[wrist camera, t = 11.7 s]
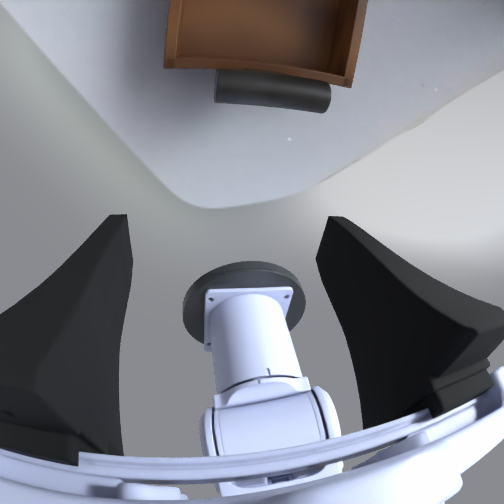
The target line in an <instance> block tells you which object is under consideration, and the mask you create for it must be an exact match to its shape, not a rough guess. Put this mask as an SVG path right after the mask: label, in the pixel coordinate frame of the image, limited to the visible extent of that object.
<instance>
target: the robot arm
mask: <svg viewBox="0 0 504 504" xmlns="http://www.w3.org/2000/svg"><path fill="white" fill-rule="evenodd" d="M316 262H317V266H318V270H319V273H320V276H321V280H322V282H323V285H324V287H325V289H326V292H327V294H328V297H329V299H330V301H331V303H332V305H333V308H334V310H335V312H336V315H337V317H338V319H339V322H340V324H341V326H342V329H343V332H344V334H345V337H346V340H347V344H348V348H349V351H350V355H351V359H352V363H353V367H354V371H355V376H356V380H357V386H358V392H359V397H360V404H361V413H362V422H363V430H362V431H358V432H355V433H351V434H347V435H344V436H341V431H340V425H339V421H338V417H337V414H336V410H335V407H334V405H333V402H332V400H331V398H330V397H329V395H328V393H327V392H326V391H324V390H322V389H321V388H320V387H318V386H315V387H312V388H310V385H309V381H308V378H307V377H302V374H301V371H300V367H299V364H298V360H297V357H296V354H295V350H294V347H293V344H292V341H291V337H290V334H289V330H288V327H287V324H286V320H285V317H286V314H287V311H288V308H289V304H290V301H291V298H292V295H293V289H292V287H265V288H234V289H208V290H207V291H206V292H205V312H204V350H205V351H207V352H212V356H213V365H214V374H215V381H216V390H217V394H216V395H213V404H214V407H208V408H206V409H205V412H204V413H203V415H202V416H201V418H200V439H201V446H202V451H203V455H204V457H187V458H150V457H128V456H124V453H123V446H122V437H121V426H120V412H119V411H120V410H119V352H120V342H121V335H122V329H123V323H124V318H125V313H126V308H127V302H128V297H129V292H130V287H131V279H132V268H133V257H132V250H131V244H130V236H129V228H128V220H127V214H125V215H124V214H121V215H109V216H108V217H107V218H106V219H105V221H104V222H103V223H102V224H101V225H100V226H99V227H98V228H97V229H96V230H95V231H94V232H93V233H92V234H91V235H90V237H89V238H88V239H87V240H86V241H85V242H84V243H83V244H82V245H81V246H80V247H79V248H78V249H77V250H76V251H75V252H74V253H73V254H72V255H71V256H70V257H69V258H68V259H67V260H66V261H65V263H63V265H62V266H60V267H59V268H58V269H57V270H56V271H55V272H54V273H53V274H52V275H51V276H49V277H48V278H47V279H46V280H45V281H44V282H43V283H42V284H40V285H39V286H38V287H37V288H35V289H34V290H33V291H31V292H30V293H29V294H27V295H26V296H25V297H24V298H22V299H21V300H20V301H19V302H17V303H16V304H15V305H13V306H12V307H10V308H9V309H7V310H6V311H5V312H3V313H1V314H0V504H445V502H444V501H446V500H448V499H449V498H450V497H452V496H453V495H454V494H456V493H457V492H459V490H460V489H461V486H462V483H463V482H462V479H461V476H460V474H461V473H463V472H464V471H465V470H467V469H468V468H469V467H471V466H472V465H473V464H474V463H476V462H477V461H478V460H479V459H481V458H482V457H483V456H484V455H486V454H487V453H488V452H489V451H490V450H492V448H494V447H495V446H496V445H497V444H498V443H499V442H501V440H503V439H504V366H502V367H500V368H499V369H497V370H495V371H493V372H492V373H491V374H490V375H489V373H488V372H487V370H486V369H487V368H488V367H489V366H490V363H489V361H488V359H487V357H488V356H489V355H490V354H491V353H492V352H493V351H494V350H495V349H496V348H497V346H498V345H499V344H500V343H501V342H502V341H503V340H504V311H503V310H502V309H501V308H500V307H498V306H494V305H492V304H489V303H486V302H483V301H481V300H478V299H475V298H473V297H471V296H468V295H466V294H464V293H462V292H459V291H457V290H455V289H453V288H451V287H449V286H447V285H445V284H444V283H442V282H440V281H438V280H436V279H434V278H432V277H431V276H429V275H427V274H426V273H424V272H422V271H421V270H419V269H418V268H416V267H414V266H413V265H411V264H410V263H408V262H407V261H405V260H404V259H402V258H401V257H400V256H398V255H396V254H395V253H394V252H393V251H391V250H390V249H388V248H387V247H386V246H384V245H383V244H382V243H380V242H379V241H377V240H376V239H375V238H374V237H372V236H371V235H369V234H368V233H367V232H365V231H364V230H363V229H361V228H360V227H358V226H357V225H356V224H354V223H353V222H351V221H350V220H348V219H346V218H344V217H338V216H329V217H328V220H327V224H326V227H325V231H324V233H323V237H322V240H321V243H320V246H319V249H318V253H317V256H316ZM210 298H211V299H210ZM396 443H397V444H396ZM393 444H395V445H393ZM390 445H392V446H390ZM387 446H390V447H388V448H386V449H384V450H381V451H379V452H378V453H377V454H376V455H374V456H373V457H371V458H370V459H368V460H366V461H365V462H363V463H361V464H359V465H357V466H355V467H353V468H352V469H351V470H350V471H347V472H344V473H342V468H343V461H344V460H347V459H351V458H354V457H357V456H361V455H364V454H367V453H370V452H373V451H376V450H379V449H382V448H385V447H387ZM204 483H205V484H206V483H215V487H216V490H217V492H218V493H219V494H220V496H221V497H216V498H205V499H190V500H188V497H187V496H186V495H184V494H180V490H179V489H178V488H177V487H166V486H155V485H147V484H204Z"/></svg>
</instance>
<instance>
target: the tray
mask: <svg viewBox="0 0 504 504" xmlns="http://www.w3.org/2000/svg"><path fill="white" fill-rule="evenodd" d="M367 3H368V0H170V2H169V10H168V19H167V29H166V40H165V53H164V69H216V70H217V71H216V76H215V85H214V102H215V103H228V104H244V105H256V106H267V107H277V108H286V109H294V110H301V111H308V112H315V113H325V112H326V111H327V109H328V107H329V104H330V101H331V88H330V85H329V84H333V85H338V86H342V87H347V88H351V87H352V82H353V77H354V72H355V68H356V63H357V58H358V53H359V47H360V42H361V37H362V32H363V26H364V20H365V15H366V9H367Z"/></svg>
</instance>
